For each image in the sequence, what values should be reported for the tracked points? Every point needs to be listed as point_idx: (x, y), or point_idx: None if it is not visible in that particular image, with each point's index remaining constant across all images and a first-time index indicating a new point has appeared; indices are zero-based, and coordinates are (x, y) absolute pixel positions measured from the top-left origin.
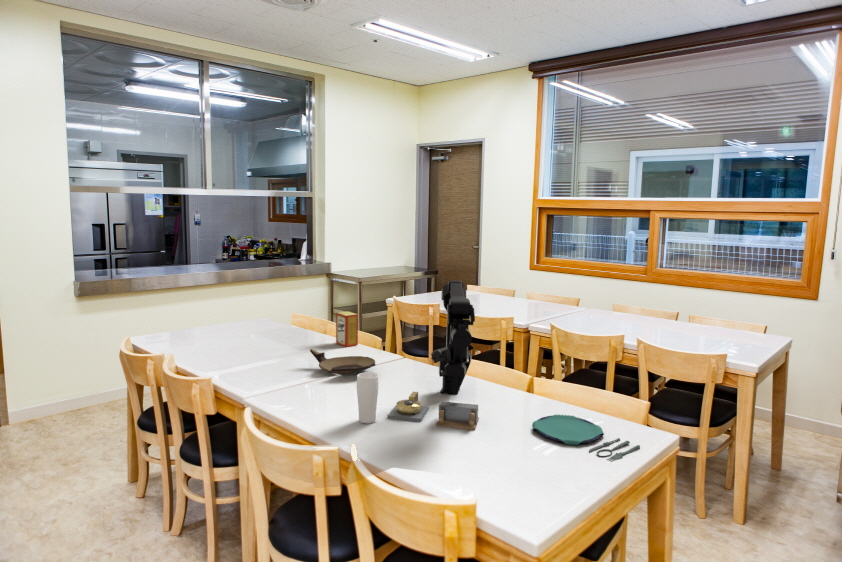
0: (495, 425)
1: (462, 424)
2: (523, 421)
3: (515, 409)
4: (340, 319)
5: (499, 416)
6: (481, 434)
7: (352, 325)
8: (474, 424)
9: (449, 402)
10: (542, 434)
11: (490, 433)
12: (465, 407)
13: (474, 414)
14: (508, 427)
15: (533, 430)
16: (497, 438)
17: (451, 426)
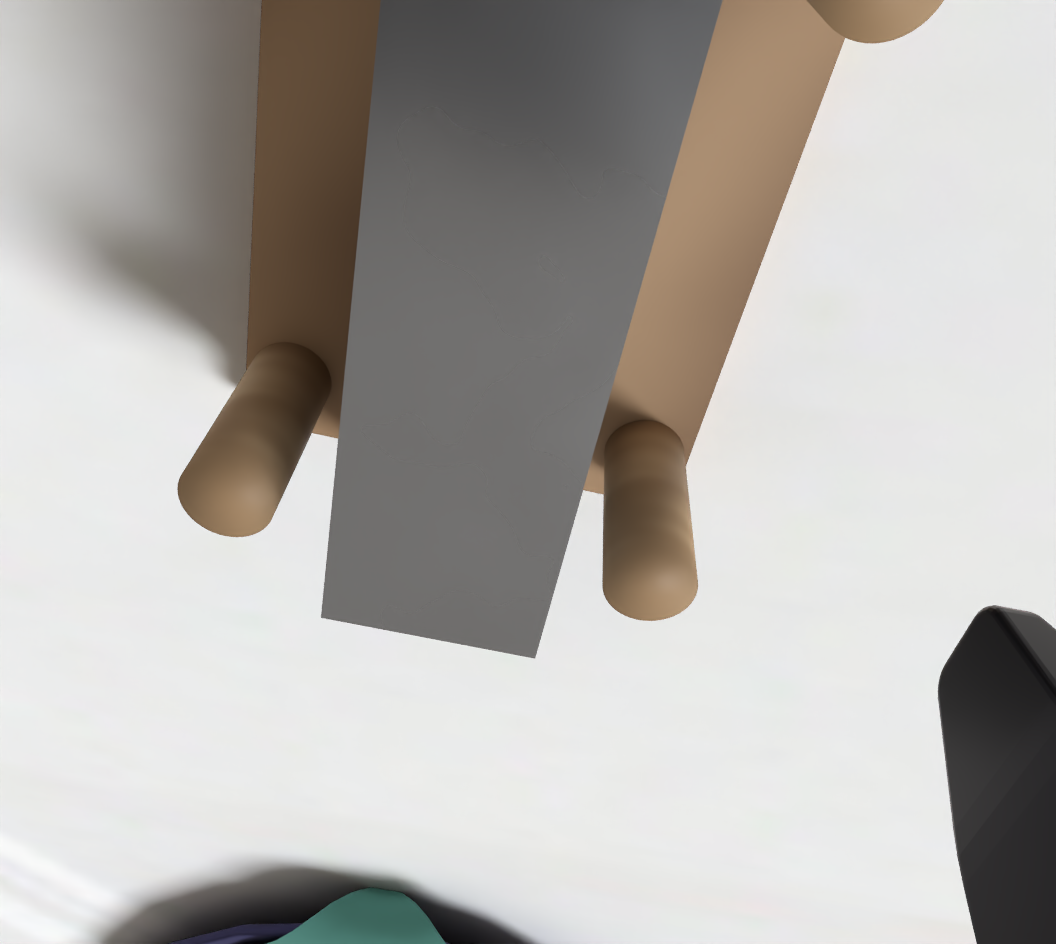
0: None
1: (329, 247)
2: (608, 865)
3: None
4: None
5: (771, 710)
6: (131, 459)
7: None
8: None
9: (671, 93)
10: (200, 937)
11: (196, 556)
12: (348, 442)
13: (223, 528)
14: (422, 736)
15: (364, 889)
16: (71, 602)
17: (266, 38)
